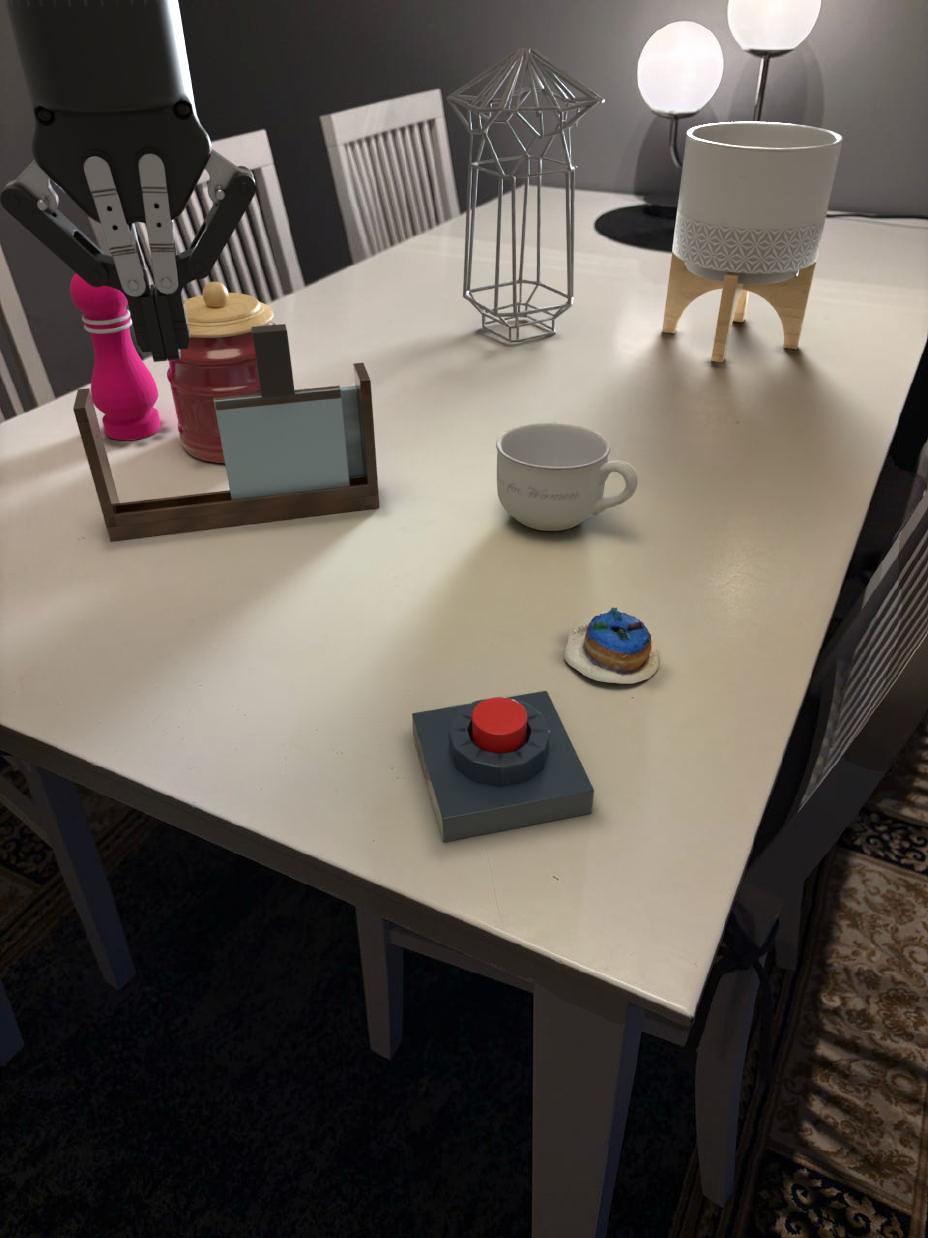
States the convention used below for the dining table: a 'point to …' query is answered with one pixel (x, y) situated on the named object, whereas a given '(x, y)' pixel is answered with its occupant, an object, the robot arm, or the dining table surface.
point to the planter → (750, 221)
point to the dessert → (613, 649)
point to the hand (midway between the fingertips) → (167, 355)
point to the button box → (500, 771)
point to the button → (499, 725)
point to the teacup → (557, 475)
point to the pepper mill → (116, 364)
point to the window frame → (219, 505)
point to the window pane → (281, 428)
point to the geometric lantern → (532, 65)
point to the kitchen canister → (215, 364)
